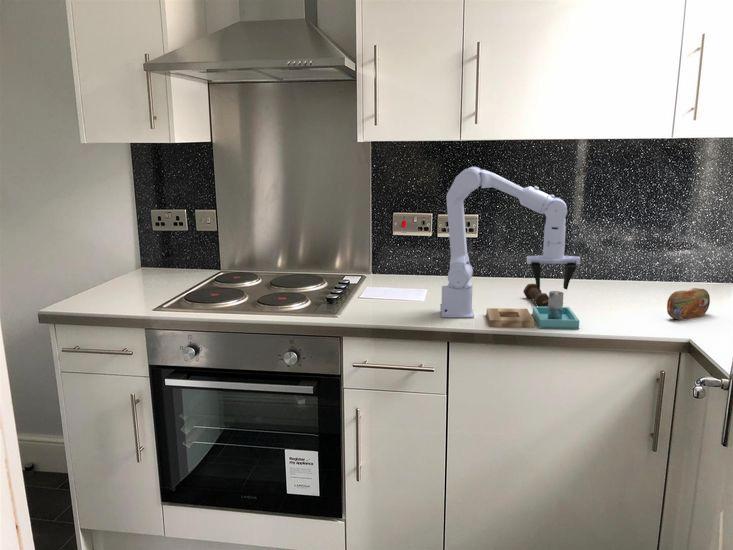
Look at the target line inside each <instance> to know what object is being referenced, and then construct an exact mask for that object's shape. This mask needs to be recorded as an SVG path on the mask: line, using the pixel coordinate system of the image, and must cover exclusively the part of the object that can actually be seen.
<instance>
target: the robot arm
mask: <svg viewBox="0 0 733 550" xmlns="http://www.w3.org/2000/svg"><path fill="white" fill-rule="evenodd" d="M479 187H481V189H488V188H494V189H496V190H499V191H500V192H503V193H505V194H508V195H511V196H512V197H515V198H517V199H518V201H519V203H520V205H521V206H524V207H525V208H528V209H530V210H532V211H534V212H536V213H537V214H540V215H544V216H545V224H544V230H543V231H544V232H543V249H542V255H527V256H526V264H527V265H530V267H531V270H532V273H533V276H534V279H535V284H536V288H537V289H540V290H541V272H542V266H541V265H542V264H545V265H546V264H547V265H549V264H551V265H553V264H555V265H556V264H557V265H564V270H563V271H564V276H563V289H564V290H568V287H569V284H570V281H571V278H572V276H573V274H574V273H575V271H576V270H577V265H581V257H580V256H578V255H577V256H572V255H565V246H566V245H565V244H566V229H567V226H566V223H567V221H566V216H567V215H568V206H567V204H566V202H565V201H564V200H563V199H561V198H560V197H555V195H554V194H553V193H552V194H548V193H546V192H544V191H542V190H540V189H539V188H540V187H538V186H537V185H534V187H533V186H531V185H530V186H525V187H522V186H520V185H519V184H517V183H515V182H512V181H510V180H508V179H507V178H505V177H503V176H500V175H498V174H496V173H495V172H492V171H489V170H486V169H482V168H480V167H478V166H470V167H468V168H466V169H463V170H462V171H461V172H460V173H459V174H458V175H457V176H455V178H454V181H453V182H452V184H451V186H450V188H449V189H448V191H447V193H446V196H445V197H446V199H445V200H446V211H447V221H448V222H447V223H448V234H449V235H448V237H449V247H450V249H449V250H450V259H449V271H448V273H447V281H448V284H447V285H442V286H441V303H440V311H441V312H440V313H441V318H464V319H465V318H466V319H467V318H470V319H471V318H474V317H475V316H474V309H473V283H472V282H471V280H470V279H472V278H473V277H472V276H473V274H474V268H473V266H472V265H471V263H470V257H469V256H470V255H469V253H468V246H467V245H468V243H467V233H466V220H465V219H466V218H465V217H466V216H465V205H464V201H465V199H466V198H467V197H468V196H469V195H470V194H471V193H472V192H474V191H476V190H477V189H478V188H479Z"/></svg>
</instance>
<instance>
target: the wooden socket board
mask: <svg viewBox="0 0 733 550" xmlns="http://www.w3.org/2000/svg"><path fill="white" fill-rule="evenodd" d="M486 318H487V322H488V325H489V328H528V327H529V328H531V329H532V328H534V319H533V316H532V314H531V313H530V312H529V309H528V308H495V307H494V308H490V307H489V308H488V307H487V308H486Z"/></svg>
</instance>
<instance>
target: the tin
mask: <svg viewBox="0 0 733 550" xmlns="http://www.w3.org/2000/svg"><path fill="white" fill-rule="evenodd" d="M710 302H711V298H710V293H709V292H708V291H707V290H706V289H705V288H697V287H692V288H687V289H683V290H677V291H674V292H672V293H671V294H670V296H669V297H668V299H667V304H666V311H667V315H668V316H669V317H671V318H672V319H675V320H679V321H684V320H685V319H686V320H690V319H694V318H695V317H696V318H699V317H703V316H704V315H705V314H706V313H707V311H708V310H709V307H710V304H711V303H710ZM686 320H685V321H686Z"/></svg>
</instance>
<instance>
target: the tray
mask: <svg viewBox="0 0 733 550" xmlns="http://www.w3.org/2000/svg"><path fill="white" fill-rule="evenodd" d="M531 316H532V317H533V316H534V317H533V318H534V320H535V322H536V324H537V326H538V328H539V329H540V330H542V329H546V330H548V329H551V330H555V329H556V330H579V329H580V320H579V318H578V316H576V314H575V313H574V311H573V310H572V309H571V308H570V306H563V310H562V319H548V307H537V306H532V314H531Z"/></svg>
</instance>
